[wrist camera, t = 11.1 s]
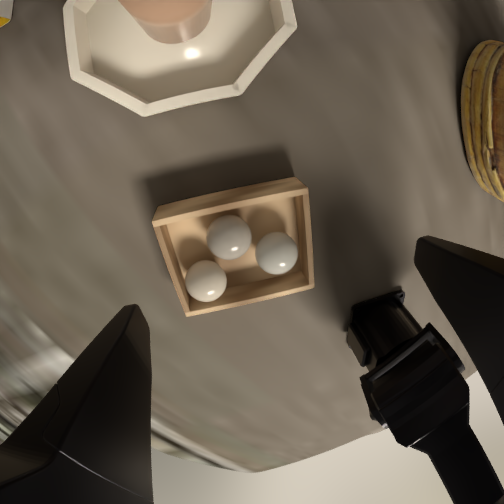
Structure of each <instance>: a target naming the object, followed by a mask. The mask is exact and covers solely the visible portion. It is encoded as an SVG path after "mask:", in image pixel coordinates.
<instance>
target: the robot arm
mask: <svg viewBox="0 0 504 504" xmlns="http://www.w3.org/2000/svg"><path fill="white" fill-rule="evenodd" d="M414 263H415V266H416V268H417V269H418V271H419V273H420V274H421V276H422V278H423V280H424V281H425V283H426V285H427V287H428V288H429V290H430V292H431V294H432V296H433V297H434V299H435V301H436V302H437V304H438V305H439V307H440V308H441V310H442V311H443V313H444V315H445V316H446V318H447V319H448V321H449V322H450V324H451V325H452V327H453V329H454V330H455V332H456V334H457V335H458V337H459V338H460V340H461V342H462V343H463V345H464V347H465V349H466V350H467V352H468V354H469V356H470V357H471V359H472V361H473V363H474V365H475V366H476V368H477V370H478V372H479V374H480V376H481V378H482V379H483V381H484V383H485V385H486V387H487V389H488V391H489V393H490V396H491V398H492V400H493V402H494V404H495V406H496V408H497V411H498V413H499V415H500V418H501V420H502V422H503V424H504V259H503V258H500V257H497V256H494V255H491V254H488V253H485V252H482V251H479V250H476V249H473V248H469V247H466V246H463V245H460V244H456V243H453V242H450V241H446V240H443V239H439V238H436V237H432V236H423V237H420V238H418V240H417V243H416V250H415V256H414ZM404 297H405V292H404V291H403V290H399V291H396V292H393V293H390V294H387V295H384V296H381V297H378V298H375V299H372V300H369V301H366V302H363V303H359V304H356V305H354V306H353V307H352V309H351V319H350V324H349V326H348V336H347V341H348V346H349V348H351V349H352V350H353V352H354V354H355V356H356V358H357V360H358V362H359V363H360V365H361V366H362V367H365V366H366V367H367V369H368V370H369V372H368V373H367V374H365V375H362V376H361V377H360V380H361V383H362V384H361V386H362V389H363V392H364V395H365V398H366V401H367V404H368V407H369V413H370V417H371V419H372V420H375V421H378V422H379V423H380V424H381V425H382V426H383V427H384V428H386V429H387V428H389V429H390V430H391V432H392V433H393V435H394V437H395V439H396V441H397V442H398V443H399V444H401V445H403V446H404V447H409V446H410V447H412V448H414V449H417V450H419V451H421V452H424V453H426V454H428V456H429V458H430V459H431V461H432V463H433V465H434V466H435V469H436V470H437V472H438V474H439V476H440V478H441V480H442V482H443V484H444V485H445V487H446V489H447V491H448V493H449V495H450V497H451V499H452V501H453V503H454V504H504V489H503V487H502V485H501V483H500V481H499V479H498V477H497V474H496V473H495V471H494V469H493V467H492V465H491V463H490V461H489V459H488V457H487V456H486V453H485V452H484V450H483V448H482V446H481V444H480V443H479V441H478V439H477V437H476V435H475V434H474V432H473V430H472V429H471V427H470V425H469V386H468V384H467V383H466V381H465V380H464V378H463V377H462V375H461V373H462V372H463V371H464V370H465V367H464V365H463V363H462V361H461V360H460V358H459V357H458V355H457V354H456V352H455V351H454V350H453V348H452V347H451V346H450V345H449V343H448V342H447V341H446V340H445V339H444V338H443V337H442V335H441V334H440V333H439V332H438V331H437V330H436V329H435V328H434V327H433V325H432V324H431V323H430V322H429V323H428V324H427V325H426V327H425V328H423V329H422V327H421V326H420V325H419V324H418V322H417V321H416V320H415V319H414V317H413V316H412V315H411V314H410V312H409V311H408V310H407V309H406V308H405V306H404V305H403V302H404ZM356 309H357V310H356ZM151 385H152V368H151V351H150V330H149V326H148V323H147V321H146V319H145V317H144V315H143V313H142V311H141V309H140V307H139V306H138V305H137V304H132V305H127V306H124V307H123V308H122V309H121V310H120V311H119V312H118V313H117V314H116V315H115V316H114V318H113V319H112V320H111V321H110V322H109V323H108V324H107V325H106V326H105V327H104V328H103V330H102V331H101V332H100V333H99V334H98V335H97V336H96V337H95V338H94V340H93V341H92V342H91V343H90V344H89V345H88V346H87V347H86V349H85V350H84V351H83V352H82V353H81V354H80V355H79V357H78V358H77V359H76V360H75V361H74V362H73V364H72V365H71V366H70V367H69V368H68V369H67V371H66V372H65V373H64V374H63V375H62V377H61V378H60V379H59V380H58V381H57V384H55V385H54V386H53V387H52V389H51V390H50V391H49V392H48V393H47V395H46V396H45V397H44V398H43V399H42V401H41V402H40V403H39V404H38V405H37V406H36V407H35V409H34V410H33V411H32V412H31V413H30V414H29V415H28V416H27V417H26V418H25V419H24V421H23V422H22V423H21V424H20V425H19V426H18V427H17V428H16V429H15V430H14V432H13V433H12V434H11V435H10V436H9V437H8V438H7V439H6V440H5V441H4V442H3V443H2V444H1V445H0V504H154V502H153V489H152V470H151Z"/></svg>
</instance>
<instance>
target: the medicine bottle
mask: <svg viewBox="0 0 504 504" xmlns="http://www.w3.org/2000/svg"><path fill="white" fill-rule="evenodd" d="M13 1H14V0H0V28H1V27H2V26H4V25H5V24H7V23H8V22H10V20H11V18H12V9H13Z"/></svg>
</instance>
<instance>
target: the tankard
mask: <svg viewBox="0 0 504 504" xmlns="http://www.w3.org/2000/svg"><path fill="white" fill-rule="evenodd" d="M461 120H462V130H463V136H464V143H465V149H466V154H467V160H468V163H469V166H470V168H471V171H472V173H473V176H474V178H475V179H476V181H477V182H478V184H479V185H480V187H481V188H482V189H483V190H485V191H486V192H488V193H489V194H491V195H493V196H495V197H496V198H497V199H499V200H501V201H502V202H504V43H503V42H500V41H495V40H487V41H483V42H481V43H479V44H478V45H477V46H476V48H475V49H474V50H473V52H472V53H471V55H470V57H469V59H468V61H467V64H466V68H465V72H464V75H463V79H462V89H461Z"/></svg>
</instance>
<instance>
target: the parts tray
mask: <svg viewBox="0 0 504 504" xmlns="http://www.w3.org/2000/svg"><path fill="white" fill-rule="evenodd" d="M223 215H235V216H238V217H240V218H242V219H243V220H244V221H245V222H246V223H247V224H248V226H249V228H250V230H251V235H252V240H251V244H250V247H249V249H248V250H247V252H246V253H245V254H244V255H242V256H241V257H239V258H237V259H234V260H224V259H221V258H219V257H217V256H215V255H214V254H213V253H212V252H211V250H210V249H209V247H208V245H207V240H206V235H207V230H208V228H209V226H210V224H211V223H212V222H213V221H214V220H215V219H216V218H218V217H220V216H223ZM152 224H153V227H154V230H155V233H156V236H157V239H158V242H159V245H160V248H161V251H162V254H163V256H164V259H165V262H166V265H167V268H168V270H169V273H170V276H171V278H172V281H173V284H174V286H175V289H176V292H177V294H178V297H179V299H180V302H181V304H182V307H183V310H184V312H185V314H186V317H188V316H193V315H198V314H203V313H208V312H213V311H218V310H222V309H227V308H232V307H236V306H241V305H245V304H250V303H254V302H258V301H263V300H267V299H271V298H275V297H280V296H284V295H288V294H292V293H296V292H300V291H304V290H308V289H312V288H314V268H313V249H312V233H311V219H310V206H309V194H308V188H307V187H306V186H305V185H304V184H303V183H302V182H300V181H299V180H298V179H297V178H296V177H291V178H285V179H280V180H274V181H269V182H264V183H259V184H254V185H249V186H244V187H239V188H234V189H229V190H224V191H220V192H215V193H211V194H206V195H202V196H198V197H193V198H189V199H185V200H181V201H177V202H173V203H169V204H165V205H161V206H158V207H157V209H156V212H155V215H154V217H153V220H152ZM271 232H282V233H285V234H287V235H289V236H290V237H291V238H292V239H293V240H294V242H295V243H296V245H297V249H298V257H297V261H296V263H295V265H294V266H293V267H292V268H291V269H290V270H289V271H288V272H286V273H283V274H277V275H276V274H270V273H267V272H266V271H264V270H263V269H262V268H261V267H260V266H259V265H258V263H257V261H256V257H255V249H256V246H257V243H258V242H259V240H260V239H261V238H262V237H263V236H264V235H266V234H268V233H271ZM201 260H210V261H213V262H216V263H217V264H219V265H220V266H221V267H222V268H223V270H224V272H225V274H226V278H227V284H226V288H225V291H224V292H223V294H222V295H221V296H220V297H219V298H217V299H216V300H214V301H210V302H202V301H199V300H196V299H195V298H193V297H192V296H191V295H190V294H189V292H188V291H187V289H186V285H185V277H186V273H187V271H188V269H189V268H190V267H191V266H192V265H193V264H194V263H196V262H198V261H201Z"/></svg>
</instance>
